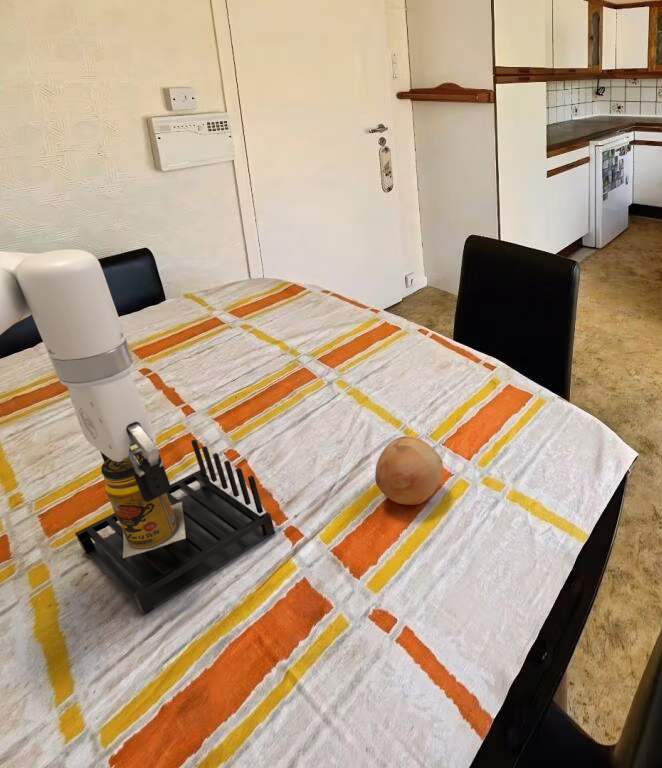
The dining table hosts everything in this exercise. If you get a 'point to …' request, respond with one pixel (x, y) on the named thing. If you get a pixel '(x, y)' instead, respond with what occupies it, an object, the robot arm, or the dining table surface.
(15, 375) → the dining table surface
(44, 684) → the dining table surface
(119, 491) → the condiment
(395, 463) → the onion
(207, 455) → the dish rack
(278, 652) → the dining table surface
